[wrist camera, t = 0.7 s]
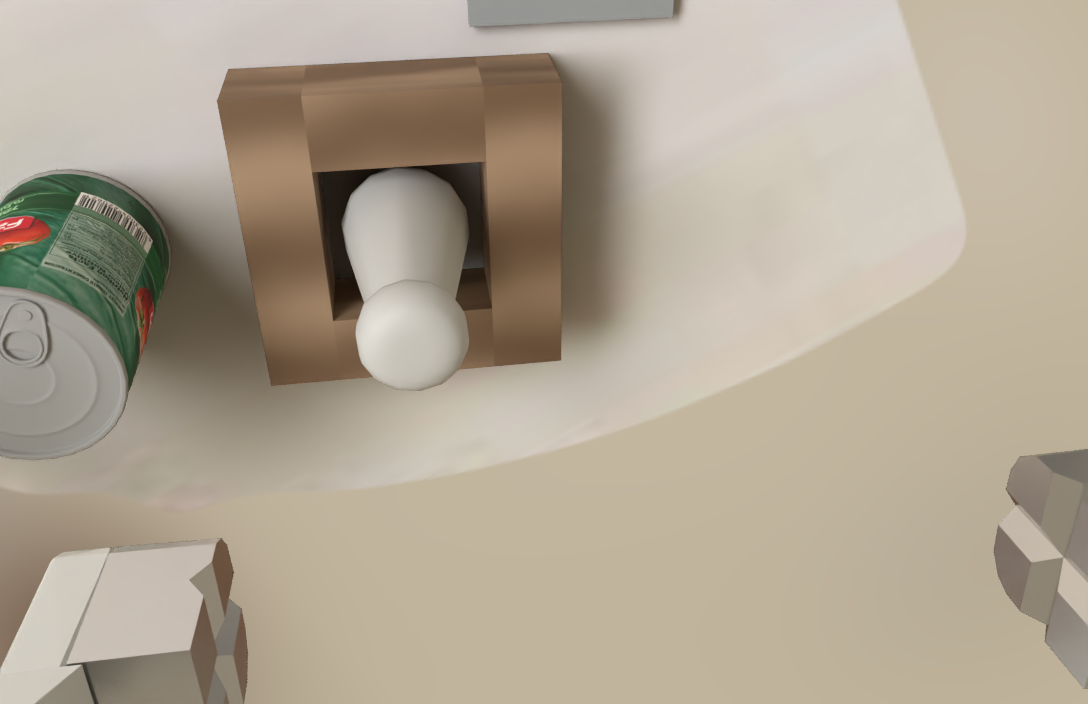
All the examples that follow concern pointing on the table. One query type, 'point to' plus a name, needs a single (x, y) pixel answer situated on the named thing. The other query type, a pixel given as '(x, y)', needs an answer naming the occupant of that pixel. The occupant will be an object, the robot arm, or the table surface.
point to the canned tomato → (73, 308)
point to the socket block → (383, 142)
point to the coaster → (563, 11)
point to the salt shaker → (408, 276)
